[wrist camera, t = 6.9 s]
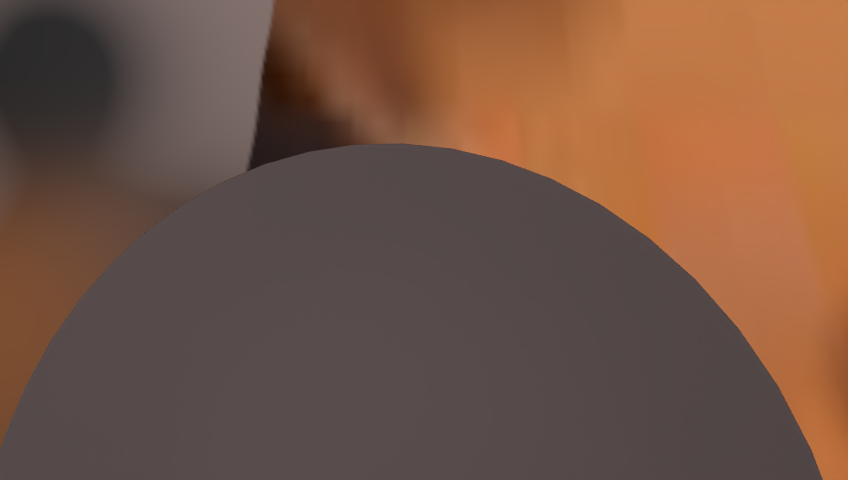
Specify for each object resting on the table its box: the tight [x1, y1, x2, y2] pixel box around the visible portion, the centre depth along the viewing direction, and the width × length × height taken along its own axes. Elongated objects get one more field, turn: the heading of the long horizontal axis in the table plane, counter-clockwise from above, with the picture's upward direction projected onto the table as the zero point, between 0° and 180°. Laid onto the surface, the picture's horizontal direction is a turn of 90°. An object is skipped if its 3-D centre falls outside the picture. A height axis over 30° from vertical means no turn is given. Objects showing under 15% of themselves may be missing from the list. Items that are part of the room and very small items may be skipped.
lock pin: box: [0, 144, 822, 480], centre depth 9 cm, size 5×5×13 cm
